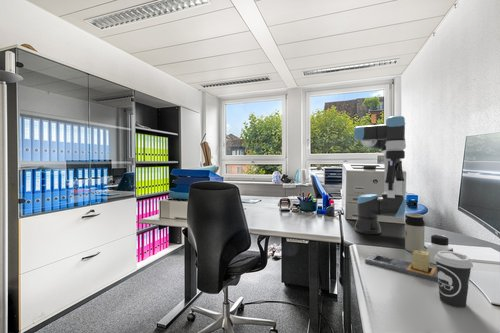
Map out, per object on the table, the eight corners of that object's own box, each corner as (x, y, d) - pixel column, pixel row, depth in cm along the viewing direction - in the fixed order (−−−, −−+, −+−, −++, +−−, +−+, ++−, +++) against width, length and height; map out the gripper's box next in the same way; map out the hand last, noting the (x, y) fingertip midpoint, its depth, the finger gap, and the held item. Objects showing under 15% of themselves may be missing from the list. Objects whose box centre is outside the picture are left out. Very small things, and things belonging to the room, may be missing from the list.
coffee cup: (476, 314, 72) (476, 263, 72) (435, 304, 77) (435, 257, 77) (468, 298, 80) (469, 253, 80) (432, 290, 85) (432, 248, 85)
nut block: (415, 269, 102) (415, 249, 102) (429, 272, 99) (429, 252, 99) (412, 273, 99) (412, 252, 98) (427, 277, 95) (427, 255, 95)
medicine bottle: (444, 267, 103) (444, 239, 103) (426, 261, 110) (426, 234, 109) (453, 264, 107) (453, 236, 106) (434, 258, 113) (434, 232, 113)
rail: (371, 256, 116) (371, 252, 116) (441, 273, 98) (441, 269, 98) (365, 262, 109) (365, 258, 109) (438, 282, 91) (438, 277, 91)
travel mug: (425, 250, 123) (425, 214, 123) (422, 254, 117) (423, 217, 117) (407, 246, 129) (407, 212, 128) (403, 250, 123) (403, 215, 122)
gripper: (393, 151, 125) (393, 192, 126) (377, 149, 107) (377, 198, 108) (410, 150, 120) (410, 193, 121) (397, 149, 102) (397, 200, 103)
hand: (395, 196), depth 114 cm, fingers open, 13 cm apart
